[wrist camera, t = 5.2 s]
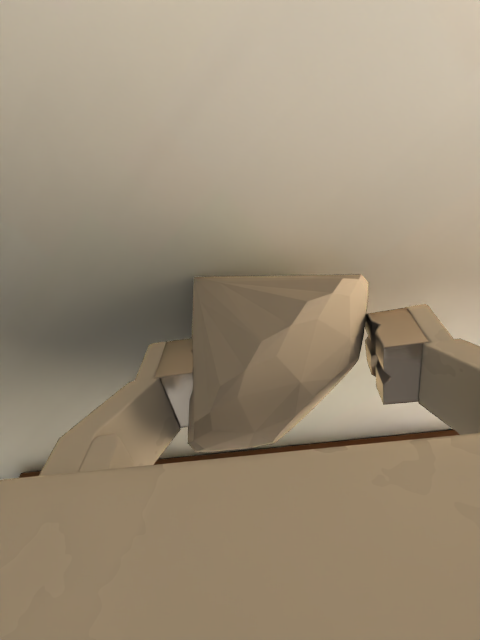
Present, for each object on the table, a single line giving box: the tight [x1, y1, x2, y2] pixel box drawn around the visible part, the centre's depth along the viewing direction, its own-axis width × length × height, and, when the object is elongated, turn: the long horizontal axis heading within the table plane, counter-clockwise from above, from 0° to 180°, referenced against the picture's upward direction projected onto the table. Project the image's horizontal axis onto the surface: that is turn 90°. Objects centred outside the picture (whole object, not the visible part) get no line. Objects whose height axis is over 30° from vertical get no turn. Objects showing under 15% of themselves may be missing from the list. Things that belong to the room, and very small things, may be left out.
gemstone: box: [188, 274, 369, 452], centre depth 10 cm, size 6×6×5 cm
